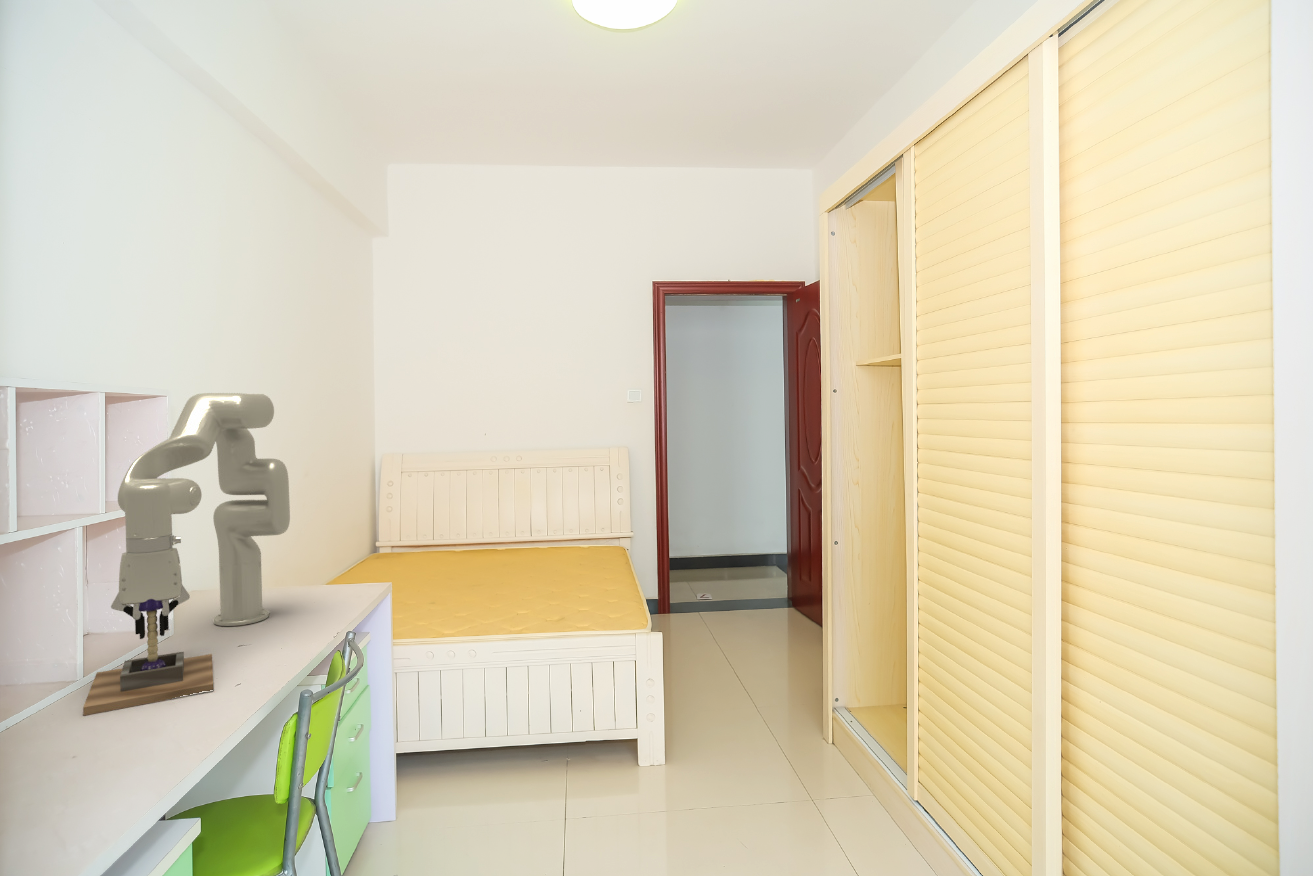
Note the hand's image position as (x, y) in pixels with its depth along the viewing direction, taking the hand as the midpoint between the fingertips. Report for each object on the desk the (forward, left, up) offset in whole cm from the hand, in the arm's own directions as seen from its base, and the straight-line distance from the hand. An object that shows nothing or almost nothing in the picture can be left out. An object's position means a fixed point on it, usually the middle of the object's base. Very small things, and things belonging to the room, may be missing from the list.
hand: (152, 634), depth 141 cm
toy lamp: (0, 0, -7) cm, 7 cm away
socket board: (0, 0, -10) cm, 10 cm away
